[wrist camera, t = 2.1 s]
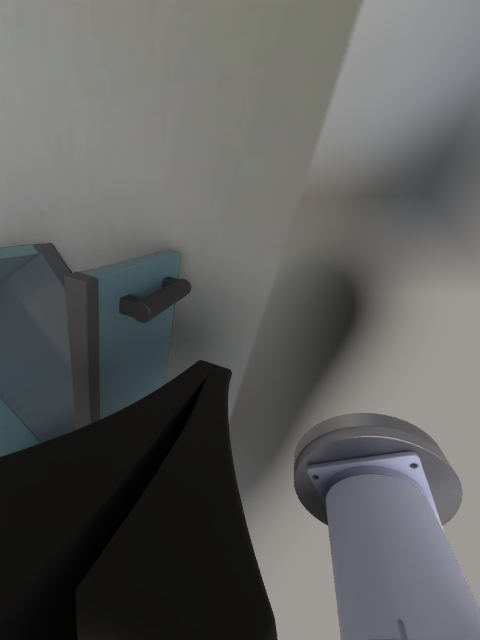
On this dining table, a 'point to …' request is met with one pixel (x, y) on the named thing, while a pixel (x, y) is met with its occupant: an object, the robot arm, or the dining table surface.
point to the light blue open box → (33, 348)
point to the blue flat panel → (120, 331)
